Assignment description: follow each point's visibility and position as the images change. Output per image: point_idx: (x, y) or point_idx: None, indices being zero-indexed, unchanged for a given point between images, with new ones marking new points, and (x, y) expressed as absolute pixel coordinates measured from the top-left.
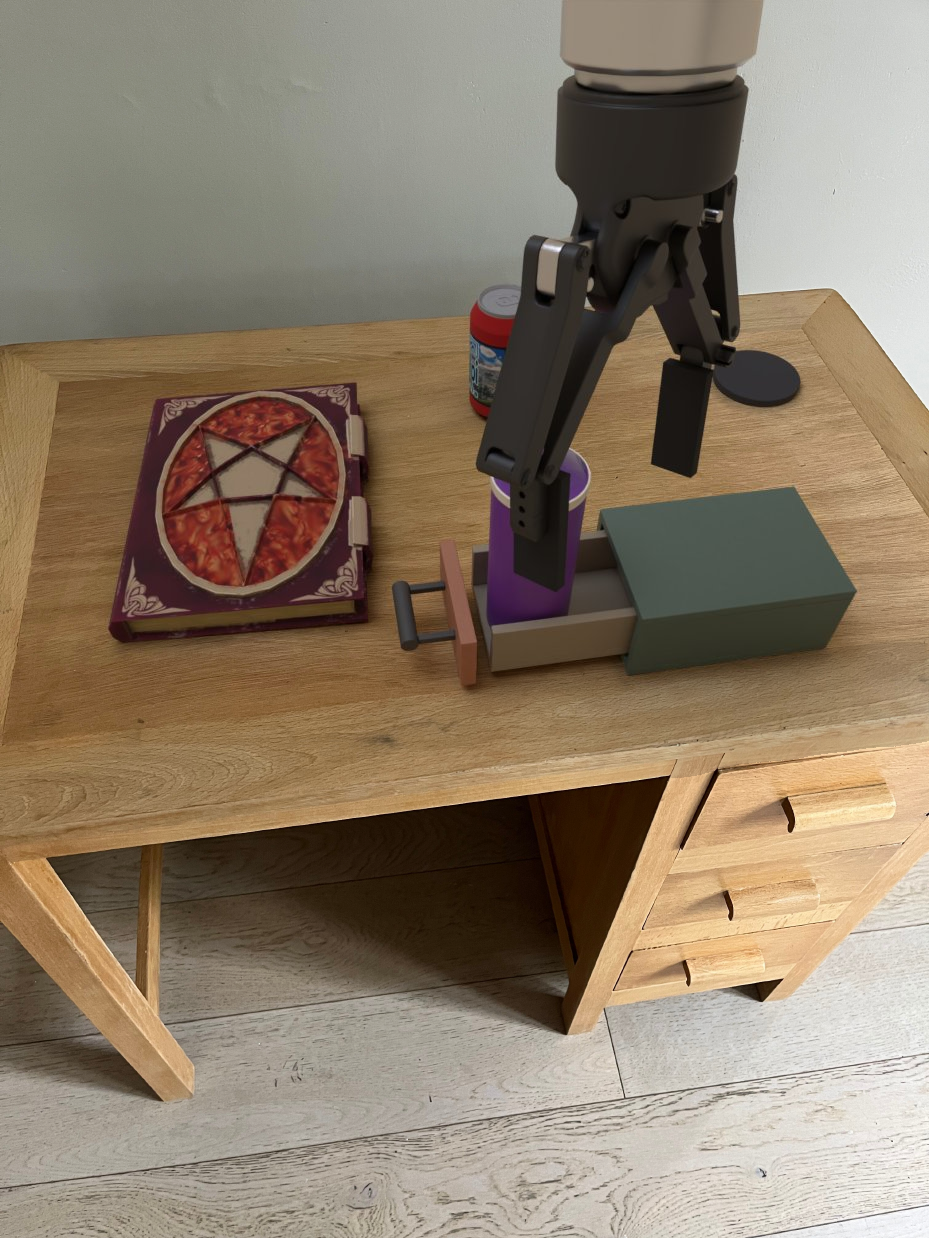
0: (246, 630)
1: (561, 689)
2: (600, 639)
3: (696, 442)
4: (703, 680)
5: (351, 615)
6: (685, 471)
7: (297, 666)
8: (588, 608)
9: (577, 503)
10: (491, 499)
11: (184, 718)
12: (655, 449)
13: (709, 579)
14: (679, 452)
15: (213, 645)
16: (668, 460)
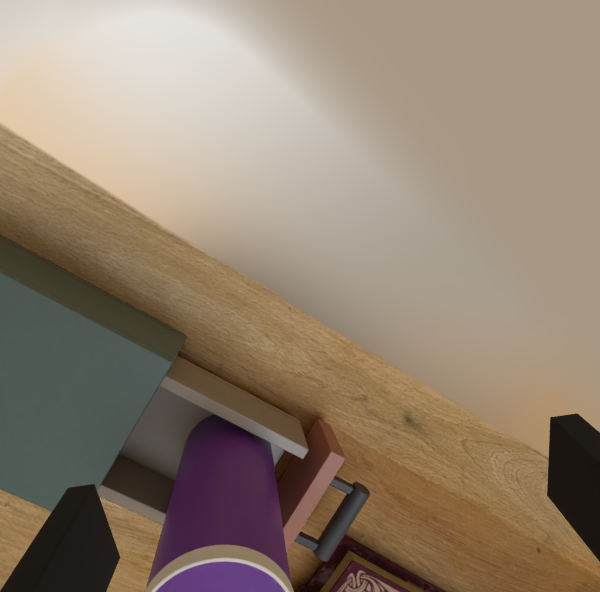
0: (430, 585)
1: (251, 365)
2: (201, 379)
3: (50, 558)
4: (126, 281)
5: (353, 549)
6: (94, 503)
7: (418, 527)
8: (168, 420)
9: (211, 550)
10: None
11: (514, 534)
12: (104, 586)
13: (52, 355)
14: (82, 553)
15: (457, 585)
16: (101, 547)
